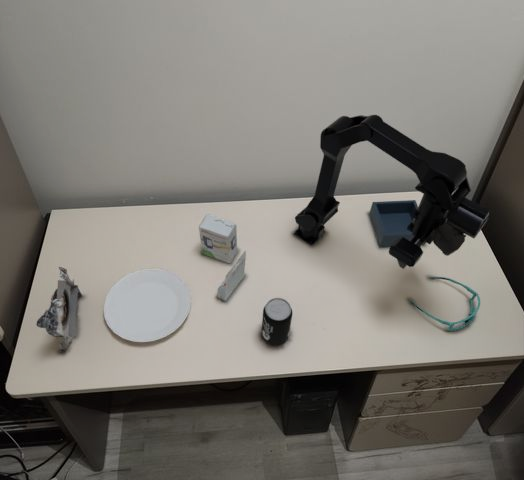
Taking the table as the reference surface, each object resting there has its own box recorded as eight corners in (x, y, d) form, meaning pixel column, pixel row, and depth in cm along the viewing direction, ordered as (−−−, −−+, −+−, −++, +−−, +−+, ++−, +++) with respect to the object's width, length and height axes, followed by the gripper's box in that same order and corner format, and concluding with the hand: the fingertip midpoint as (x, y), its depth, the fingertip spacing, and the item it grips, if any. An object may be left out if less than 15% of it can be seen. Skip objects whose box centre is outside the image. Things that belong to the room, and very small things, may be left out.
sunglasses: (458, 342, 117) (463, 331, 114) (404, 308, 125) (407, 297, 121) (484, 306, 124) (490, 294, 121) (431, 276, 131) (436, 264, 128)
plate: (97, 288, 123) (95, 283, 122) (177, 263, 129) (176, 258, 127) (115, 359, 111) (113, 354, 110) (203, 328, 117) (202, 323, 116)
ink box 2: (216, 298, 123) (215, 271, 114) (236, 272, 128) (236, 245, 119) (226, 303, 122) (225, 276, 113) (245, 277, 127) (246, 250, 118)
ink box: (237, 251, 133) (237, 222, 123) (229, 265, 130) (229, 236, 120) (209, 241, 134) (207, 212, 125) (200, 254, 131) (197, 226, 122)
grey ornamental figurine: (65, 297, 121) (50, 266, 111) (83, 297, 122) (69, 266, 111) (53, 353, 112) (35, 325, 102) (73, 352, 112) (56, 324, 102)
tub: (379, 247, 135) (383, 235, 131) (369, 213, 143) (372, 201, 139) (423, 245, 136) (428, 233, 132) (410, 211, 144) (415, 199, 140)
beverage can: (286, 349, 115) (290, 324, 105) (258, 344, 115) (260, 318, 106) (290, 325, 119) (295, 299, 109) (264, 320, 119) (266, 293, 110)
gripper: (445, 257, 95) (422, 300, 107) (486, 206, 105) (460, 250, 117) (396, 228, 100) (379, 272, 112) (439, 181, 109) (419, 227, 121)
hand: (411, 255), depth 115 cm, fingers open, 9 cm apart
